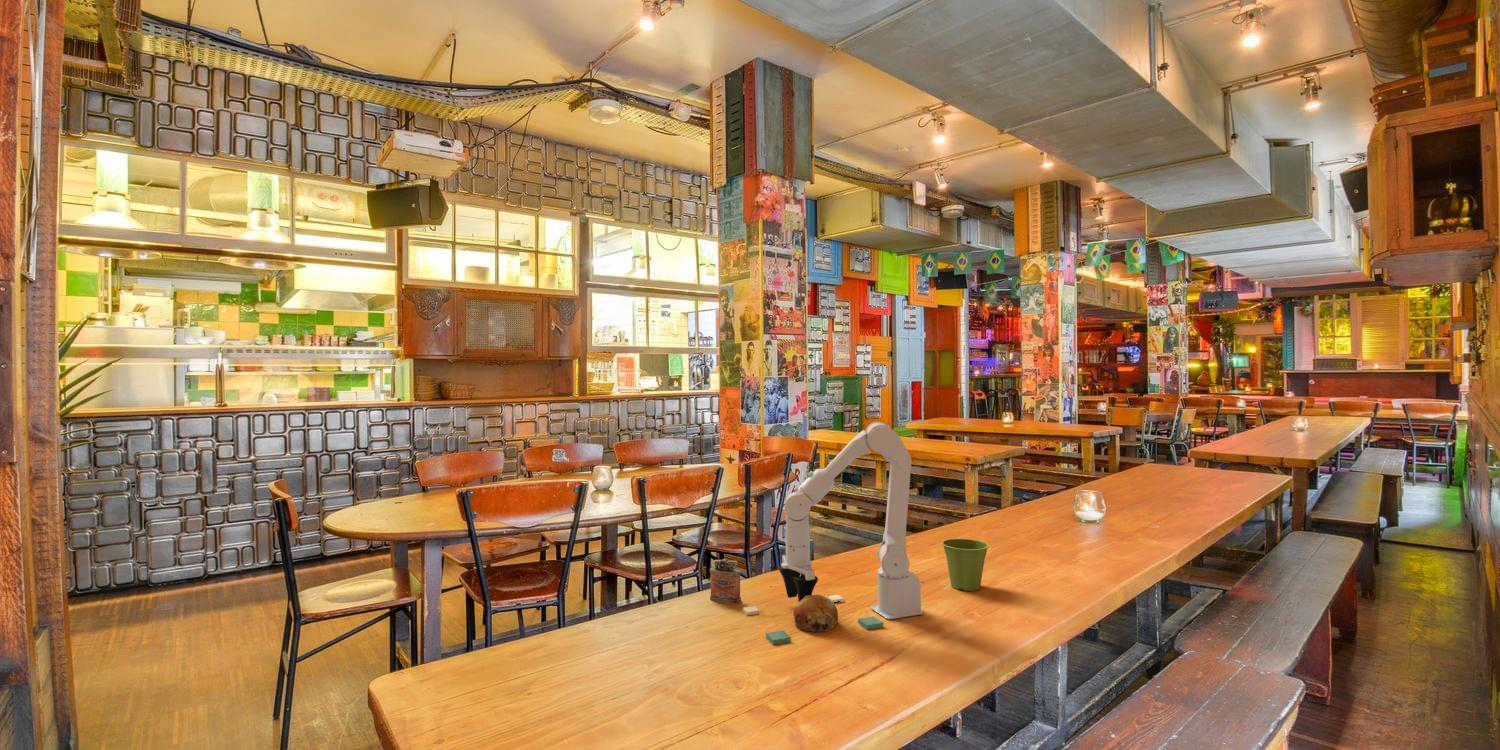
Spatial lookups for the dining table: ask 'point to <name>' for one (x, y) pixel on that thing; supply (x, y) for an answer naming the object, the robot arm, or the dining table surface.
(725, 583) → the lighter
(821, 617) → the bread roll
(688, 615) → the dining table surface
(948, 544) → the plant pot
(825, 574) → the dining table surface
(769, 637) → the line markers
